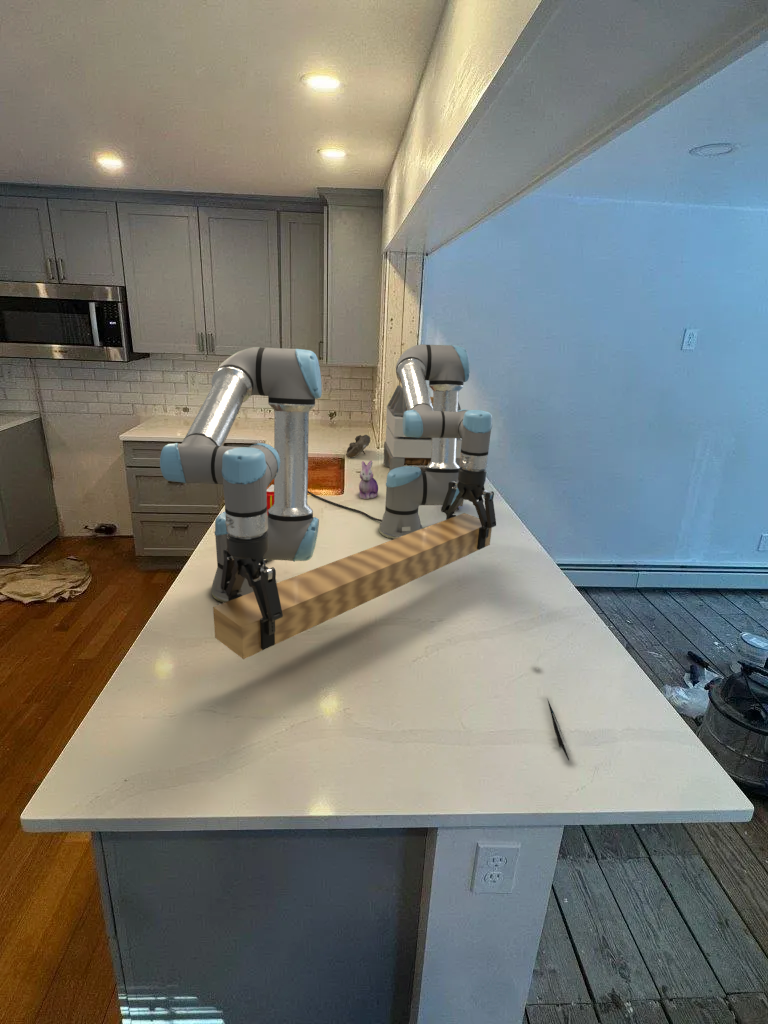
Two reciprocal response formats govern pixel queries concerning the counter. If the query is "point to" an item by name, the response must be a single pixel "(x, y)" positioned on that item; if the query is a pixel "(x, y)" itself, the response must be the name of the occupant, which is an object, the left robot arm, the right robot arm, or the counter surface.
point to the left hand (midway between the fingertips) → (252, 635)
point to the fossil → (358, 446)
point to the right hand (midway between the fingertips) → (465, 542)
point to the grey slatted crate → (406, 438)
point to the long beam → (347, 583)
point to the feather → (557, 730)
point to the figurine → (367, 482)
